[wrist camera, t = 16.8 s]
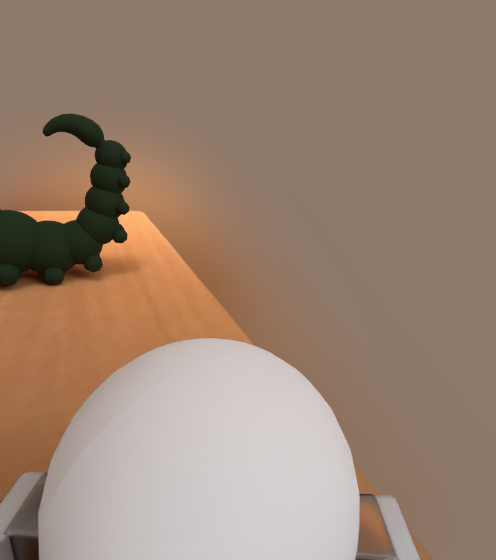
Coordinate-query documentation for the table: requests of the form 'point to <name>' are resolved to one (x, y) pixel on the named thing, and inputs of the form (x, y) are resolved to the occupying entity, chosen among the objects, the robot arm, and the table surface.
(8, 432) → the table surface
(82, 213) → the toy figurine
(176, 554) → the light bulb
